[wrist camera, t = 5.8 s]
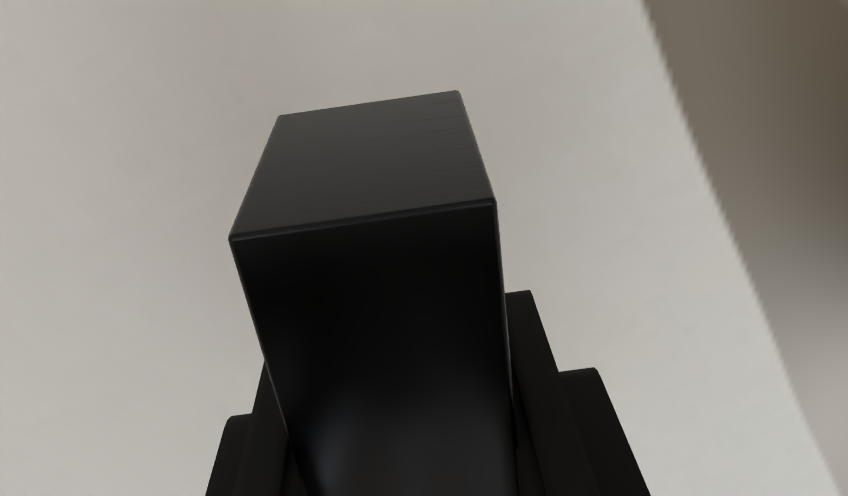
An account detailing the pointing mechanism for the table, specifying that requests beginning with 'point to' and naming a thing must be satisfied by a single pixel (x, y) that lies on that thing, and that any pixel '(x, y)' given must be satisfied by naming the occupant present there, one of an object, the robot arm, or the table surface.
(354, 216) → the table knife
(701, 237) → the table surface
